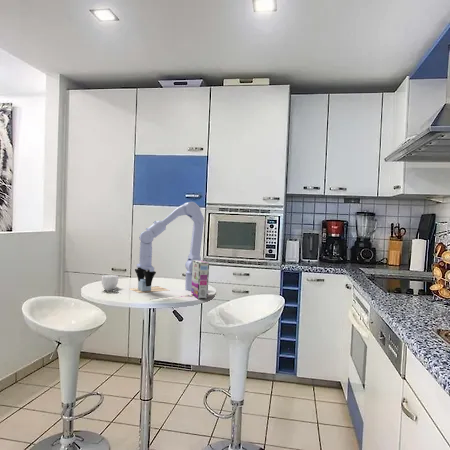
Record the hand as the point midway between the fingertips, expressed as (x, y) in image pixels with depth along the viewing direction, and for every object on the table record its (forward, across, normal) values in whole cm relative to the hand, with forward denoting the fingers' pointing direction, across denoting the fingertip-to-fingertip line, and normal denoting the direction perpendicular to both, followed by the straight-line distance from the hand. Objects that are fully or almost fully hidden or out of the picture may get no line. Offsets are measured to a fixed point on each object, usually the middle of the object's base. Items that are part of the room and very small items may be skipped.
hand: (144, 284), depth 186 cm
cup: (+4, -14, -11) cm, 18 cm away
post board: (+4, -1, +3) cm, 5 cm away
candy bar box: (+4, +20, +18) cm, 27 cm away
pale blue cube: (+2, 0, 0) cm, 2 cm away
